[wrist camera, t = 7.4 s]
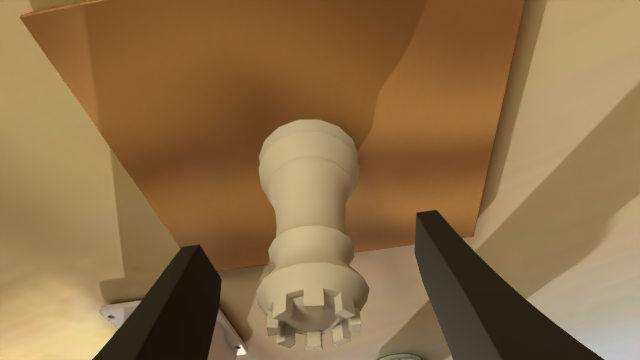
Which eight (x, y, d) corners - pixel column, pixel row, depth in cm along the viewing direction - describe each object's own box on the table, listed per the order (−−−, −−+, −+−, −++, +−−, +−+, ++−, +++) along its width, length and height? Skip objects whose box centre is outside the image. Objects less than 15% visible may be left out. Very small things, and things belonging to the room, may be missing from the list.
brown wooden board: (469, 229, 19) (473, 237, 19) (200, 266, 20) (198, 274, 20) (535, -92, 10) (546, -92, 9) (29, 12, 11) (17, 16, 11)
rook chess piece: (297, 206, 17) (295, 375, 10) (239, 146, 14) (190, 323, 8) (374, 166, 15) (423, 336, 9) (323, 93, 13) (343, 256, 7)
